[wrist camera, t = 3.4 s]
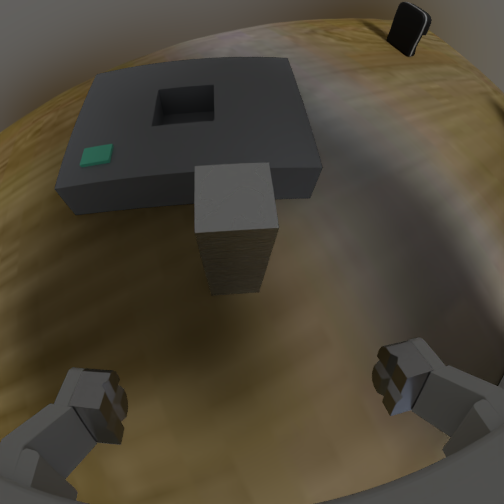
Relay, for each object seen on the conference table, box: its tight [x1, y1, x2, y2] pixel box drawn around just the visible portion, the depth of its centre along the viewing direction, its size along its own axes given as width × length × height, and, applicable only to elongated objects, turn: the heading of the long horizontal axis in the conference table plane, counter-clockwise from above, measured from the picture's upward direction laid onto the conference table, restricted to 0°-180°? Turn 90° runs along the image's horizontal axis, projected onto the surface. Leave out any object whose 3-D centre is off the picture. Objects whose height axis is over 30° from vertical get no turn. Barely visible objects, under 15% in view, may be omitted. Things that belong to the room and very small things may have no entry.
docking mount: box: [55, 57, 323, 215], centre depth 29 cm, size 24×18×5 cm
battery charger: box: [387, 2, 431, 56], centre depth 41 cm, size 7×4×11 cm, turn 27°
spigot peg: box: [194, 163, 279, 296], centre depth 21 cm, size 4×4×12 cm
